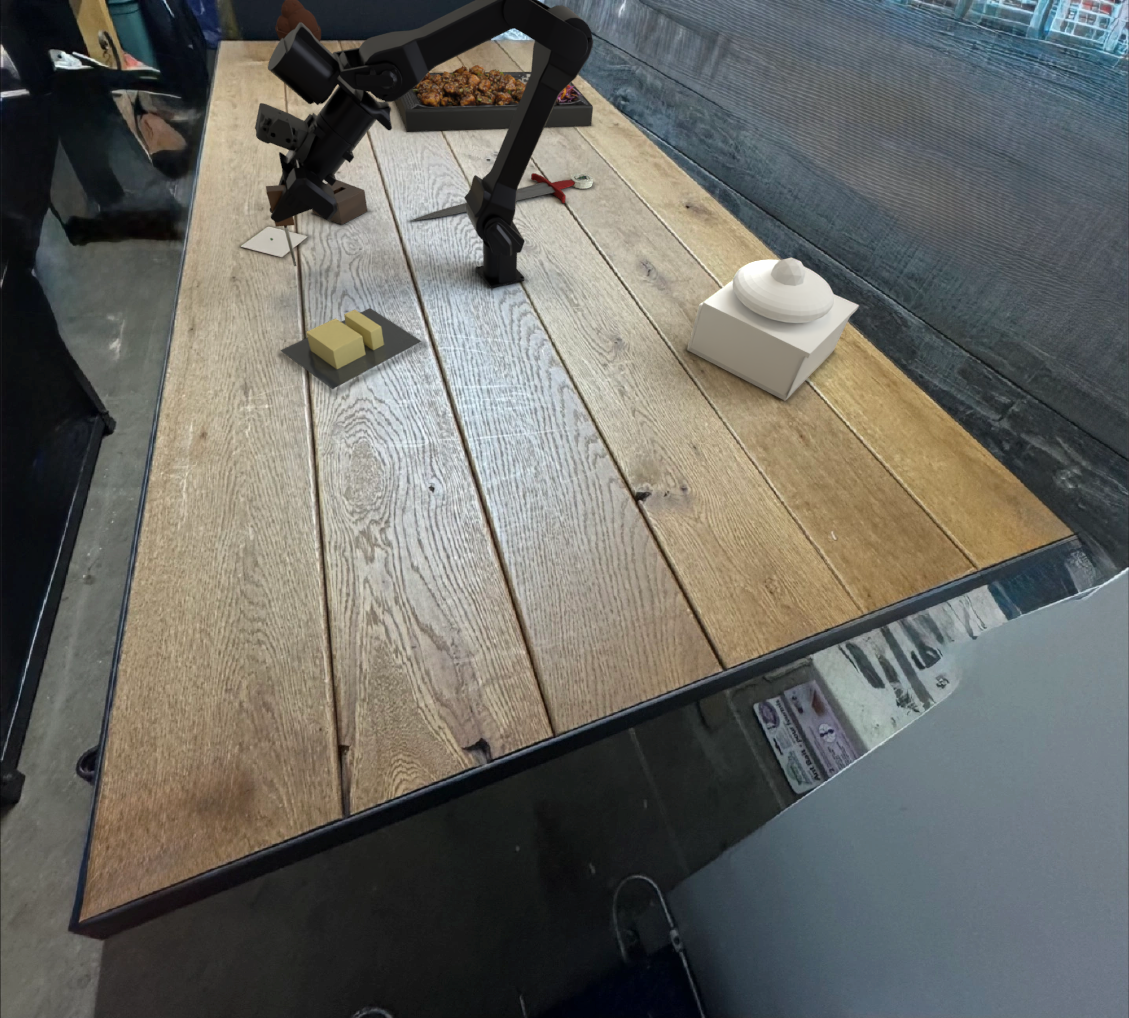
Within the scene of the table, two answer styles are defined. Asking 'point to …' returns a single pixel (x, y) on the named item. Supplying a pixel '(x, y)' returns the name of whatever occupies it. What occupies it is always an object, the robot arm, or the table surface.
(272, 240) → the coaster
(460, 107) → the food platter
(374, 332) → the butter slice
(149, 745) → the table surface
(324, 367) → the butter board
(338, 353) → the butter block
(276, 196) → the knife
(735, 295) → the white lidded jar
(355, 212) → the knife stand
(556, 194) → the dagger
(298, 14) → the ice cream bowl
